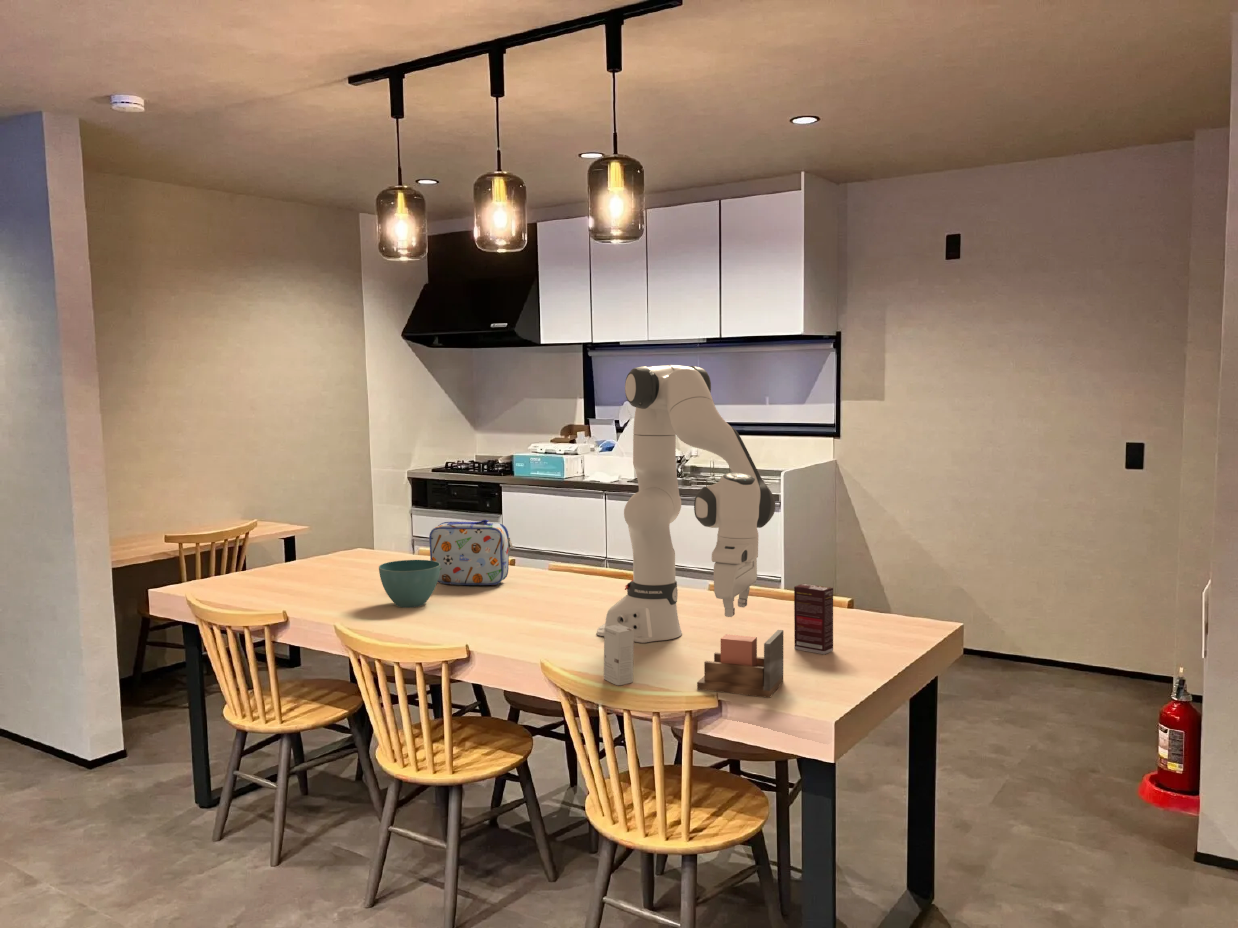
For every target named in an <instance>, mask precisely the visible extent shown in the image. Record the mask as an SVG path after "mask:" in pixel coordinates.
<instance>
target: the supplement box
mask: <svg viewBox="0 0 1238 928" xmlns="http://www.w3.org/2000/svg"><path fill="white" fill-rule="evenodd" d="M793 590H794V591H793V599H794V600H793V601H794V602H793V603H794V604H793V610H794V611H793V612H794V616H793V617H794V622H793V623H794V633H793V634H794V650H798V651H804V652H809V653H813V654H820V655H826V654H827V655H828V654H829V653H831V652H833V651H834V587H831V586H822V585H816V584H814V585H813V584H807V583H801V584H798V585H794V587H793Z"/></svg>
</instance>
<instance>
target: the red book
mask: <svg viewBox="0 0 1238 928" xmlns="http://www.w3.org/2000/svg"><path fill="white" fill-rule="evenodd" d="M757 648H758V637H756V636H750V635H749V636H748V635H738V634H728V633H726V634H724V635H723V636H722V637H721V638H720V653H721V663H730V664H739V665H749V666H757V657H758V649H757Z"/></svg>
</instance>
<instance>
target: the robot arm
mask: <svg viewBox="0 0 1238 928" xmlns="http://www.w3.org/2000/svg"><path fill="white" fill-rule="evenodd" d="M624 391H625V392H624V393H625V397H626V400H627V402H628V403H629V404H630V405H631V407H634V408H635V411H634V420H633V429H632V430H633V432H632V433H633V435H632V436H633V437H632V441H633V442H632V444H633V445H632V465H633V468H634V470H635V473H636V479H637V484H638V491H637V492H635V493H633V494H632V495H631V497H630V498H629V499H628V501H627V502H626V503H625V505H624V509H623V518H624V520H625V523H626V524H627V527H628V533H629V538H630V543H631V548H632V567H633V573H632V574H633V576H632V577H633V579H631V580H630V582H628V583H627V584H626V585H625V586H624V587H625V588H624V590H626V591H627V594H626V595H625V596H623V597H621V599H620V600H618V601H617V602H615V603H614V604H613V605H612V606H610V607H609V608H608V610H607V612H606V617H605V623H603V624H602V625H600V626H599V627H598V628H597V630H596V635H597V636H601V637H604V628H605V627H607V626H612V625H617V624H619V625H622V626H626V627H628V628H630V629H632V630H634V643H643V644H644V643H651V642H657V641H658V642H659V641H667V640H672V639H676V638H679V637H681V636H682V634H683V632H682V628H681V625H680V620H679V615H678V608H677V607H678V605H677V602H678V593H679V592H678V590H679V589H678V582H677V580H676V551H675V548H674V546H673V541H672V536H671V529H670V524H672V523H673V522H674V521H676V519H677V518H678V516H679V514H680V512H681V510H682V498H681V496H680V490H679V489H680V488H679V480H678V476H677V474H678V473H677V468H676V467H677V466H676V463H677V462H676V461H677V460H676V457H677V456H676V455H677V454H676V451H677V450H676V445H677V443H676V440H677V439H676V438H678V439H679V440H680V441H681V442H682V443H684V444H685V445H687V446H690V447H691V448H692V447H693V448H696V449H701V450H702V451H703V450H704V451H705V452H706V451H707V452H710V453H712V454H714V455H717V456H718V457H721V458H722V459H723V460H724V461H725V462H726V464H728V467H729V469H730V471H731V472H728V473H725V474H723V475H722V476H721V477H720V480H719V481H717V482H716V483H713V484H710V485H707V486H703V487H702V488H700V489H699V491H698V492H697V494H696V495H695V498H694V501H693V502H694V503H693V504H694V505H693V512H694V517H695V518H696V520H697V521H698V522H699V523H700V524H701V525H702V526H704V527H706V528H710V529H712V528H713V529H718V530H717V536H716V537H717V541H716V544H715V547H714V549H713V550H712V552H711V561H712V562H713V563H714V565H713V588H714V589H713V592H714V596H715V598H716V599H717V600H718V599H719V600H722V604H723V607H724V616H725V617H727V618H732V617H733V616H735V611H736V609H735V607H734V606H735V605H734V602H735V597H737V596H738V599H737V606H738V607H739V608H746V607H747V606H748V597H749V593H750V587H751V586H752V585H754V584H755V583H756V582H757V578H758V565H757V564H758V563H757V561H758V560H757V558H758V557H759V532H758V531H759V530H758V529H760V528H763V527H765V526H766V525H767V524H768V522H770V521H771V519H772V518H773V516H774V514H775V511H776V500H775V497H774V495H773V492H772V491H771V489H770V488H769V487H768V485H767V484H766V483H765V481H764V480H763V478H762V476H761V474H760V473H759V471H758V468H757V466H756V465H755V463H754V461H753V459H752V457H751V455H750V453H749V450H748V449H747V447H746V445H745V443H744V441H743V439H742V436H740V434H739V432H738V431H737V430H736V428H734V427H733V426H732V425H730V424H729V423H728V422H727V421H726V420H725V419H724V418H723V417H722V415H721V414H720V413H719V411H718V409H717V408H716V404H715V402H714V400H713V399H714V398H713V395H712V394H711V391H712V382H711V378H710V376H709V374H708V371H706V369H704V368H702V367H699V366H694V365H690V366H688V365H687V366H686V365H679V364H666V365H652V366H646V365H643V366H638V367H633V368H632V369H631V370H630V371H629V372H628V374H627V375H626V378H625V383H624Z"/></svg>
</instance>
